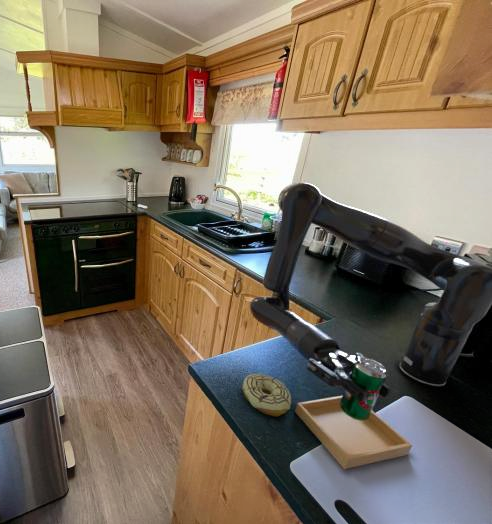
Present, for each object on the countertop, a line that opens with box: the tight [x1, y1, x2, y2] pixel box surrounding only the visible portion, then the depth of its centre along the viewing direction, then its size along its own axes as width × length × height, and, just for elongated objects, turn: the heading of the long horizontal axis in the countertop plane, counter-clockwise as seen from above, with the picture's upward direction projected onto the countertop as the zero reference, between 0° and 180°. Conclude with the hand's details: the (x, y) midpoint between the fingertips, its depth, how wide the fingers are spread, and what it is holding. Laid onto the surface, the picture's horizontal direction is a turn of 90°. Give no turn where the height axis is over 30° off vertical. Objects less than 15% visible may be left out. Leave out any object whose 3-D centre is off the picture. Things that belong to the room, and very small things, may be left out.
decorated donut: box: [241, 373, 292, 417], centre depth 68 cm, size 10×11×4 cm
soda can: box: [340, 357, 388, 420], centre depth 57 cm, size 5×5×12 cm
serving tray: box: [294, 395, 413, 470], centre depth 61 cm, size 15×13×3 cm
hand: (376, 395), depth 55 cm, fingers closed on soda can, 5 cm apart
